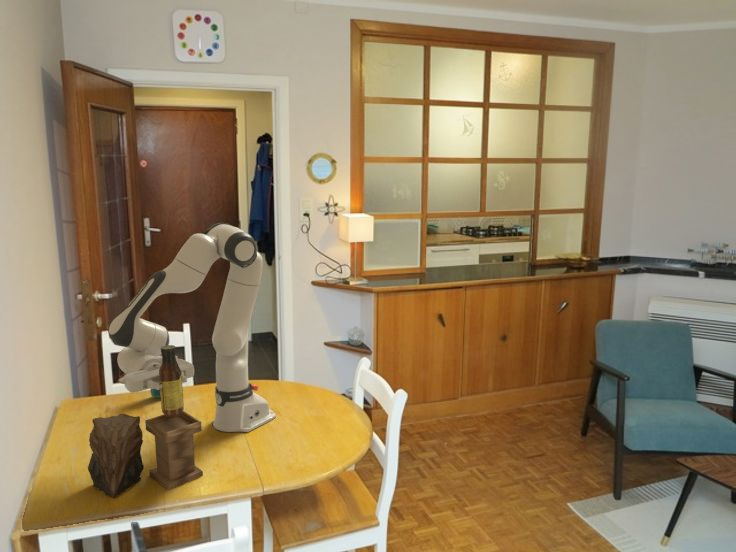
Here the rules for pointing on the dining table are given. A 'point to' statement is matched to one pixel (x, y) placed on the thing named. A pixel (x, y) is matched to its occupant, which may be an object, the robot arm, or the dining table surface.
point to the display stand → (174, 448)
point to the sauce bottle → (170, 382)
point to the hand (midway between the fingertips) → (172, 383)
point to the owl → (115, 453)
